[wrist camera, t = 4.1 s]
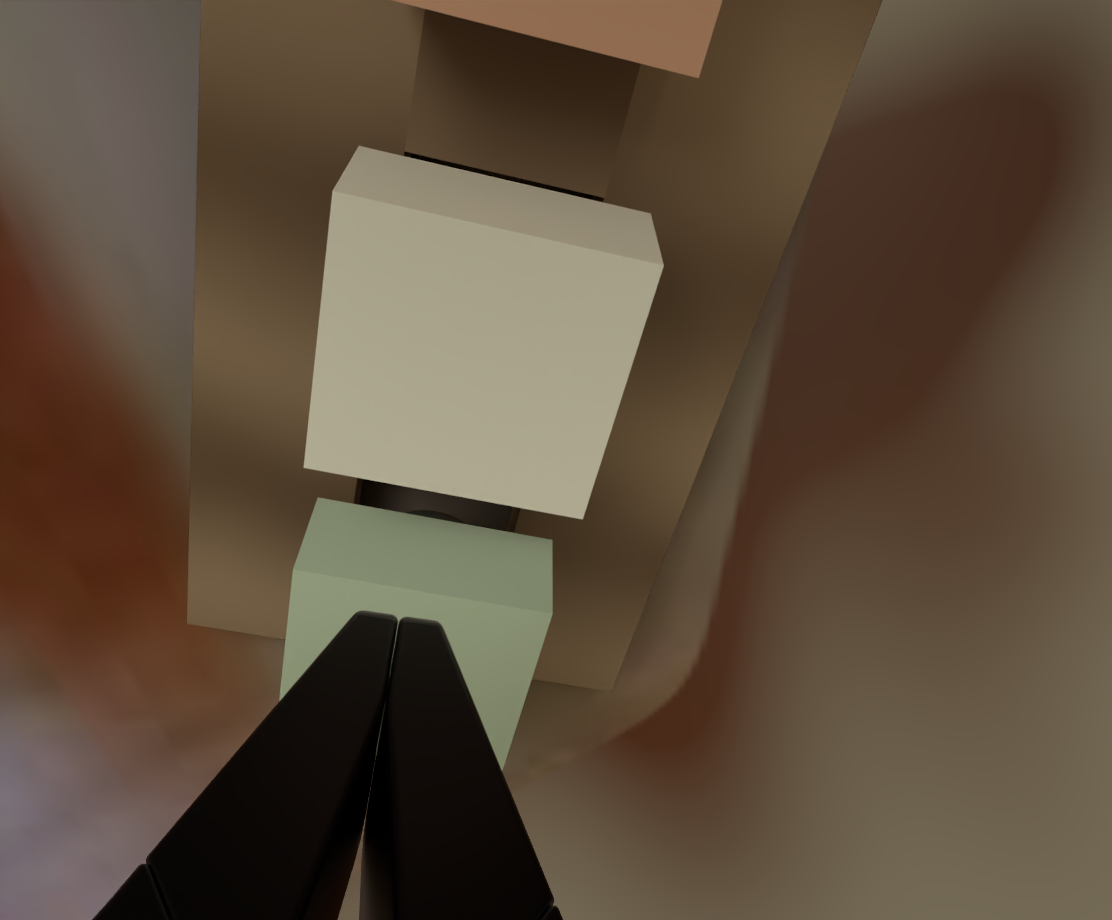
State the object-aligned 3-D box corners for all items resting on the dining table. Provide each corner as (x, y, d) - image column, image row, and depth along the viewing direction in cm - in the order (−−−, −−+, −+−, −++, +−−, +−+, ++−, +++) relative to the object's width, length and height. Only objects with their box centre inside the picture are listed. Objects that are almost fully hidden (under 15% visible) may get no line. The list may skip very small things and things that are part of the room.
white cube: (578, 406, 18) (582, 519, 15) (345, 359, 17) (303, 467, 14) (643, 181, 15) (663, 265, 13) (375, 118, 15) (331, 191, 12)
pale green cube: (508, 645, 21) (501, 774, 19) (313, 612, 21) (275, 740, 18) (552, 492, 19) (552, 613, 16) (333, 451, 18) (293, 569, 16)
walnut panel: (608, 646, 24) (611, 692, 23) (206, 579, 23) (186, 623, 21) (984, -359, 13) (1030, -377, 12) (250, -603, 12) (215, -653, 10)
